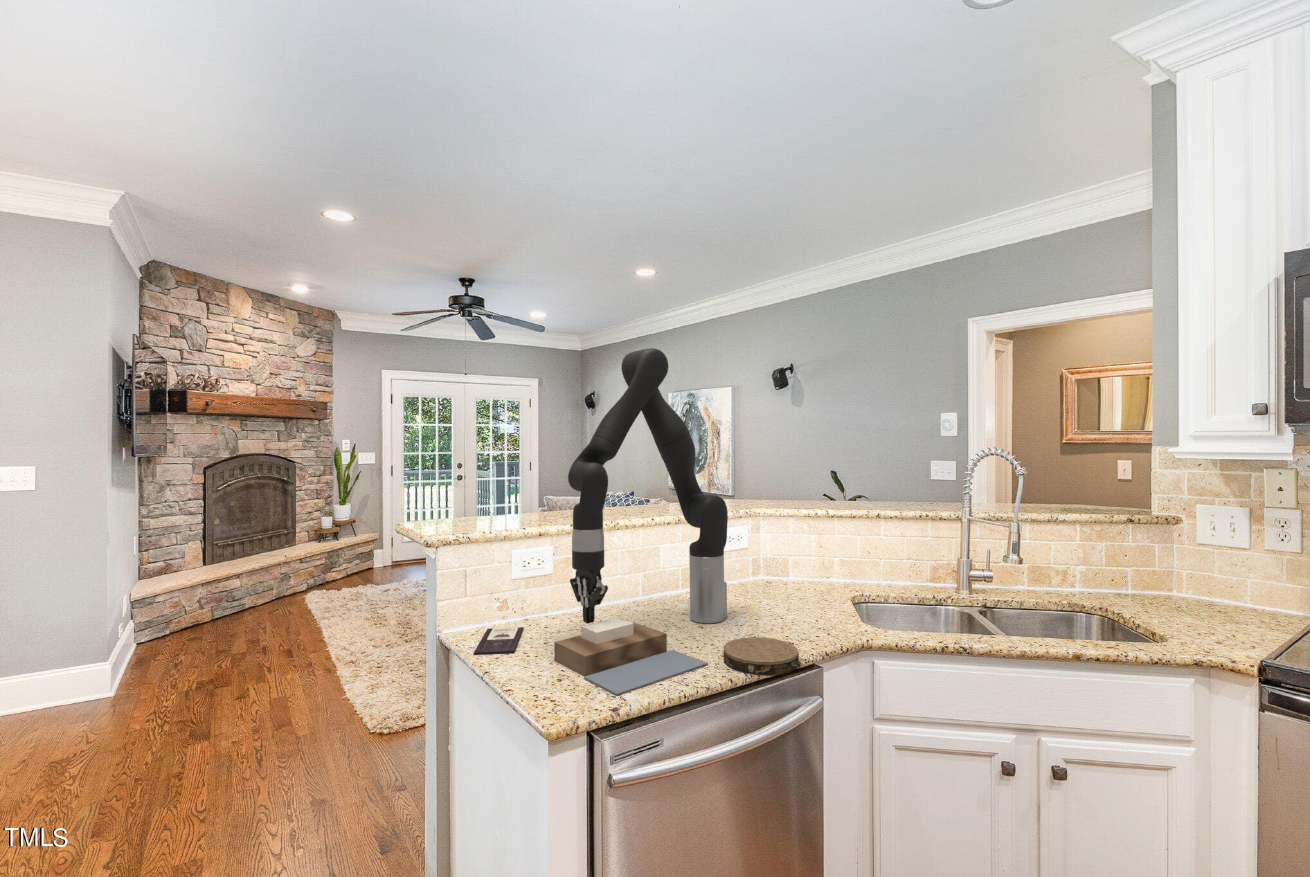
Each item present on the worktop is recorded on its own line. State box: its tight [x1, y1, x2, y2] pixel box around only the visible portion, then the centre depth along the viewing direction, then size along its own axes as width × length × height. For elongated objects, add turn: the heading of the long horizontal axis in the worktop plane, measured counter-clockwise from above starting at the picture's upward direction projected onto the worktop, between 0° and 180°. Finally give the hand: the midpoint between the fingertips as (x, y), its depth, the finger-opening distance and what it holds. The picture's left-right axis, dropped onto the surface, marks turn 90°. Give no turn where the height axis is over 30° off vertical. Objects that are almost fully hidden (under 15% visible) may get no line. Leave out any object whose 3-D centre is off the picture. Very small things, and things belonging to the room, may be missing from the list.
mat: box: [583, 649, 709, 697], centre depth 125 cm, size 24×11×1 cm, turn 130°
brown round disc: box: [723, 636, 800, 677], centre depth 130 cm, size 16×16×3 cm
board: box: [553, 622, 668, 677], centre depth 135 cm, size 22×12×4 cm, turn 130°
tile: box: [580, 617, 633, 644], centre depth 136 cm, size 10×6×2 cm, turn 130°
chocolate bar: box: [473, 626, 525, 656], centre depth 145 cm, size 9×1×18 cm
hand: (588, 622), depth 141 cm, fingers closed
